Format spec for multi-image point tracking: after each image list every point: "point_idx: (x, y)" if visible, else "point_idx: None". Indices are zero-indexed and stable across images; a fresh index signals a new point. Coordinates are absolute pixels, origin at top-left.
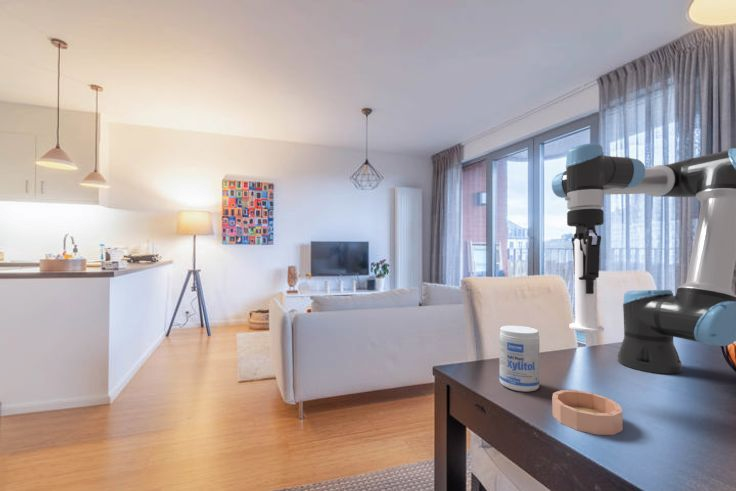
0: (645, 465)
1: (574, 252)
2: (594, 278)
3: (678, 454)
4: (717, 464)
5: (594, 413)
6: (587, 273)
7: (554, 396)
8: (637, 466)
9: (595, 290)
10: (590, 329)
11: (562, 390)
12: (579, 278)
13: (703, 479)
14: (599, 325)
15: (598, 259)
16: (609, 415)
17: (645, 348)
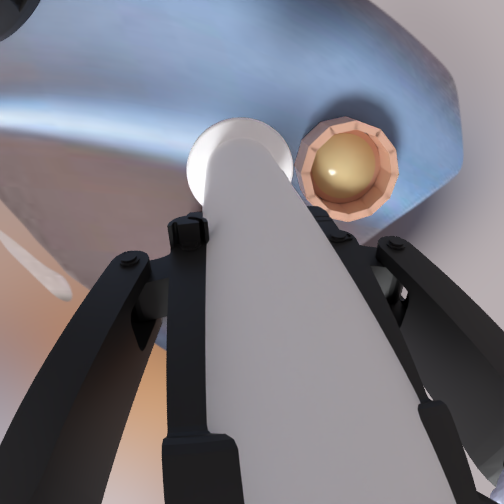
0: (439, 140)
1: (110, 465)
2: (372, 247)
3: (414, 86)
4: (424, 57)
5: (393, 174)
6: (402, 305)
7: (339, 217)
8: (441, 150)
9: (297, 195)
10: (292, 171)
11: (308, 198)
12: None
13: (452, 96)
14: (222, 125)
15: (484, 317)
16: (396, 155)
17: None
